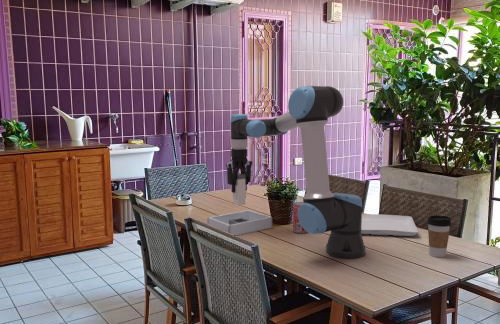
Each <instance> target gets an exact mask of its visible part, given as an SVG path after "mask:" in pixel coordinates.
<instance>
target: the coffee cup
mask: <svg viewBox="0 0 500 324" xmlns="http://www.w3.org/2000/svg"><path fill="white" fill-rule="evenodd" d="M427 224H428V227H427V237H428V254H429V256H431V257H434V258H446V256H447V251H448V249H447V248H448V243H449V238H450V232H451V231H450V226H451V225H452V222H451V217H450V216H448V215H447V216H446V215H429V216H428V218H427Z"/></svg>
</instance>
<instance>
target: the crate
mask: <svg viewBox="0 0 500 324" xmlns="http://www.w3.org/2000/svg"><path fill="white" fill-rule="evenodd" d="M206 218H207V225H208V224H209V225H211V226H213V227H216V228H218V229H220V230H222V231H225V232H228V233H230V234H233V235H236V236H240V235H244V234H250V233H254V232H259V231H263V230H269V229H272V228H273V217H272V216H270V215H266V214H263V213H260V212H257V211H254V210H251V209H247V210H240V211H236V212H230V213H224V214H219V215H213V216H208V217H206Z"/></svg>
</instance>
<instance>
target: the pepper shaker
mask: <svg viewBox="0 0 500 324" xmlns="http://www.w3.org/2000/svg"><path fill="white" fill-rule="evenodd" d="M236 186H237V200H235V199H233V198H232V201H233V203H232V204H233V205H235V206H242V205H243V206H244V205H246V198H245V174H241V172H238V175H237V182H236Z"/></svg>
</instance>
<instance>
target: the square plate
mask: <svg viewBox="0 0 500 324" xmlns="http://www.w3.org/2000/svg"><path fill="white" fill-rule="evenodd" d="M369 234H371V236H388V235H393V236H392V237H413V236H415V235H417V234H419V230H418V227H417V225H416V224H415V221H414V219H413V217H412V216H409V215H408V216H407V215H399V214H398V215H395V214H381V213H380V214H379V213H378V214H377V213H376V214H375V213H374V214H373V213H372V214H371V213H370V214H369V213H368V214H367V213H365V214H364V213H362V225H361V235H369Z"/></svg>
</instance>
